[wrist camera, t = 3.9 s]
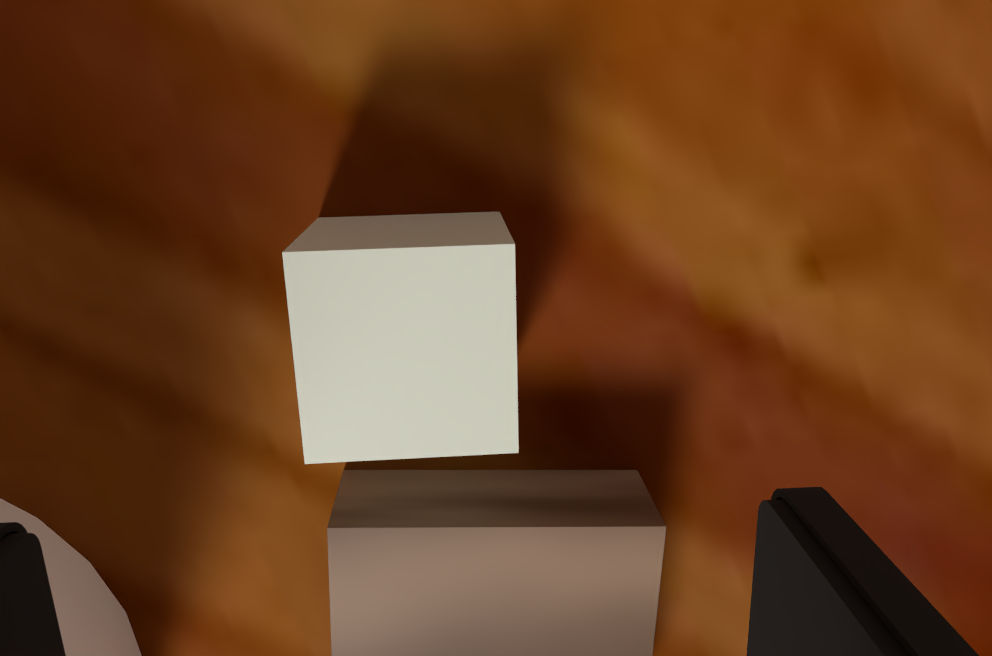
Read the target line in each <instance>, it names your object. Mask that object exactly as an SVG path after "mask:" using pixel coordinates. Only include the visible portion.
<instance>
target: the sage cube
mask: <svg viewBox="0 0 992 656" xmlns="http://www.w3.org/2000/svg"><path fill="white" fill-rule="evenodd" d="M282 256H283V265H284V275H285V284H286V293H287V303H288V312H289V321H290V331H291V340H292V349H293V359H294V368H295V377H296V386H297V396H298V405H299V414H300V424H301V433H302V442H303V452H304V461H305V464H313V463H332V462H352V461H371V460H391V459H410V458H430V457H450V456H469V455H489V454H508V453H519V439H518V382H517V325H516V267H515V243H514V241H513V238H512V236H511V234H510V232H509V230H508V228H507V226H506V224H505V222H504V220H503V218H502V216H501V213H500V212H470V213H440V214H410V215H381V216H351V217H321V218H318V219H316V220H315V221H314V222H313V223H312V224H311V225H310V226H309V227H308V228H307V229H306V230H305V231H304V232H303V233H302V234H301V235H300V236H299V237H298V238H297V239H295V240H294V241H293V242H292V243H291V244H290V245H289V246H288V247H287V248H286V249H285V250H284V251H283V252H282Z"/></svg>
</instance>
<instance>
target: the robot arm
mask: <svg viewBox="0 0 992 656" xmlns="http://www.w3.org/2000/svg"><path fill="white" fill-rule="evenodd" d="M0 656H66V654H65V650H64V646H63V641H62V637H61V632H60V628H59V623H58V619H57V614H56V610H55V606H54V601H53V597H52V592H51V588H50V583H49V579H48V574H47V570H46V566H45V561H44V557H43V552H42V548H41V544H40V541H39V539H38V537H37V536H36V535H35V534H33V533H27V530H26V529H25V528H24V526H23V525H22V524H20V523H17V522H7V523H0ZM747 656H979V655H978V654H977V653H976V652H975V651H974V650H973V649H972V648H971V647H970V645H969V644H968V643H967V642H966V641H965V640H964V639H963V638H962V637H961V636H960V635H959V634H958V633H957V631H956V630H955V629H954V628H953V627H952V626H951V625H950V624H949V623H948V622H947V621H946V620H945V618H944V617H943V616H942V615H941V614H940V613H939V612H938V611H937V610H936V609H935V608H934V607H933V606H932V604H931V603H930V602H929V601H928V600H927V599H926V598H925V597H924V596H923V595H922V594H921V593H920V592H919V590H918V589H917V588H916V587H915V586H914V585H913V584H912V583H911V582H910V581H909V580H908V579H907V577H906V576H905V575H904V574H903V573H902V572H901V571H900V570H899V569H898V568H897V567H896V566H895V565H894V563H893V562H892V561H891V560H890V559H889V558H888V557H887V556H886V555H885V554H884V553H883V552H882V551H881V549H880V548H879V547H878V546H877V545H876V544H875V543H874V542H873V541H872V540H871V539H870V538H869V536H868V535H867V534H866V533H865V532H864V531H863V530H862V529H861V528H860V527H859V526H858V525H857V524H856V522H855V521H854V520H853V519H852V518H851V517H850V516H849V515H848V514H847V513H846V512H845V511H844V510H843V508H842V507H841V506H840V505H839V504H838V503H837V502H836V501H835V500H834V499H833V498H832V497H831V495H830V494H829V493H828V492H827V491H826V490H824V489H823V488H822V487H805V488H782V489H776V490H775V491H774V493H773V495H772V498H771V500H763V501H762V502H761V503H760V506H759V511H758V521H757V534H756V546H755V558H754V571H753V583H752V596H751V608H750V621H749V633H748V646H747Z"/></svg>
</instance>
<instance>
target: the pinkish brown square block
mask: <svg viewBox="0 0 992 656" xmlns="http://www.w3.org/2000/svg"><path fill="white" fill-rule="evenodd" d="M327 533H328V562H329V590H330V619H331V648H332V656H652V654H653V644H654V635H655V626H656V617H657V608H658V598H659V589H660V580H661V571H662V561H663V552H664V543H665V534H666V525H665V523H664V521H663V519H662V517H661V515H660V513H659V511H658V509H657V507H656V505H655V504H654V502H653V500H652V498H651V496H650V494H649V492H648V490H647V488H646V486H645V484H644V482H643V480H642V478H641V476H640V474H639V472H638V470H343V474H342V477H341V481H340V484H339V488H338V492H337V495H336V499H335V502H334V506H333V509H332V513H331V517H330V520H329V524H328V527H327Z"/></svg>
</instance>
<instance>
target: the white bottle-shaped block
mask: <svg viewBox="0 0 992 656" xmlns="http://www.w3.org/2000/svg"><path fill="white" fill-rule="evenodd" d="M7 522H17V523H20V524H22V525H23V526H24V528H25V529H26V530H27V533H33V534H35V535H36V536H37V537H38V539H39V541H40V544H41V548H42V552H43V557H44V561H45V566H46V570H47V574H48V579H49V583H50V588H51V592H52V597H53V601H54V606H55V610H56V614H57V619H58V623H59V628H60V632H61V637H62V641H63V646H64V650H65V654H66V656H142V655H141V652H140V649H139V647H138V644H137V641H136V638H135V636H134V633H133V630H132V627H131V625H130V622H129V619H128V616H127V614H126V612H125V610H124V609H123V607H122V606H121V605H120V603H119V602H118V600H117V599H116V598H115V596H114V595H113V594H112V592H111V591H110V589H109V588H108V587H107V585H106V584H105V582H104V581H103V580H102V578H101V577H100V576H99V574H98V573H97V571H96V570H95V569H94V567H93V566H92V564H91V563H90V562H89V561H88V560H87V559H86V558H84V557H83V556H82V555H81V554H80V553H79V552H77V551H76V550H75V549H74V548H73V547H71V546H70V545H69V544H68V543H67V542H66V541H64V540H63V539H62V538H61V537H60V536H58V535H57V534H56V533H55V532H54V531H53V530H51V529H50V528H49V527H48V526H47V525H45V524H44V523H43V522H42V521H41V520H40V519H38V518H37V517H35V516H33V515H31V514H29V513H27V512H26V511H24V510H22V509H20V508H18V507H16V506H14V505H12V504H10V503H8V502H6V501H5V500H3V499H1V498H0V523H7Z"/></svg>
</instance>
